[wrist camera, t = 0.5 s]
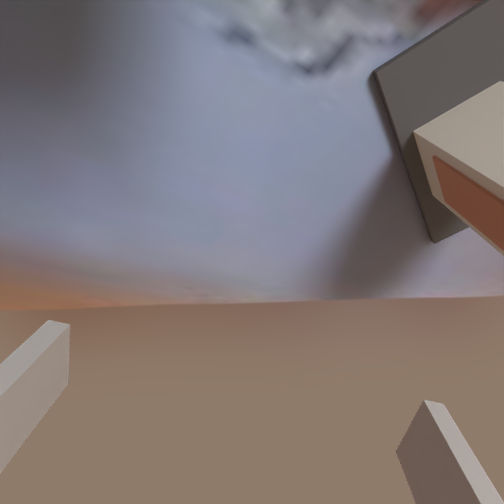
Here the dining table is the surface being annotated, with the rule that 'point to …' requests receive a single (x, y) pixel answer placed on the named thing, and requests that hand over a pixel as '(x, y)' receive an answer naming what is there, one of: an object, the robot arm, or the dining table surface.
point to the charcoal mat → (441, 92)
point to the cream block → (469, 162)
